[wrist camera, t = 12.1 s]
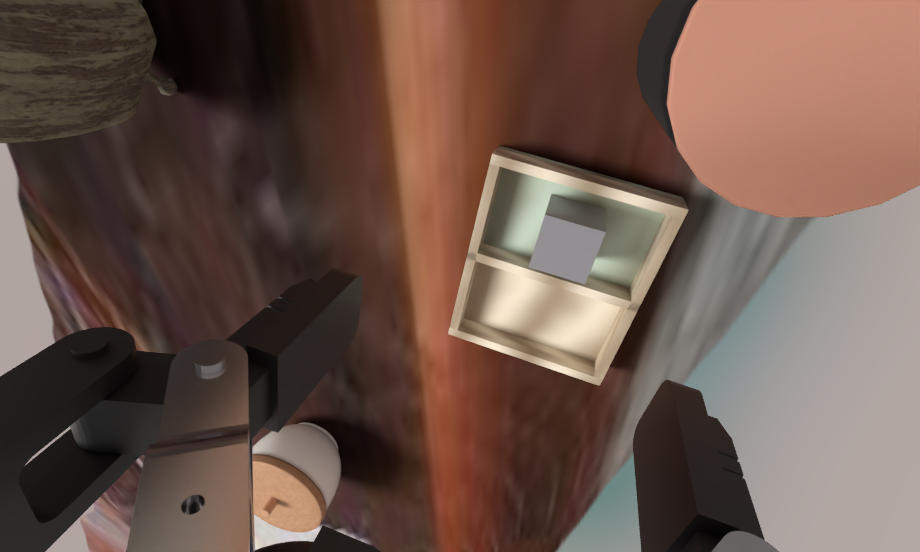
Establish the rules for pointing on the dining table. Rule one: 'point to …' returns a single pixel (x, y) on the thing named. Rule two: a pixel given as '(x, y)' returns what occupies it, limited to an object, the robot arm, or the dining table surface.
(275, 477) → the lidded bowl
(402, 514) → the dining table surface
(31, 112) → the tabletop clock
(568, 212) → the gray cube
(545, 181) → the tray
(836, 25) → the coffee jar
